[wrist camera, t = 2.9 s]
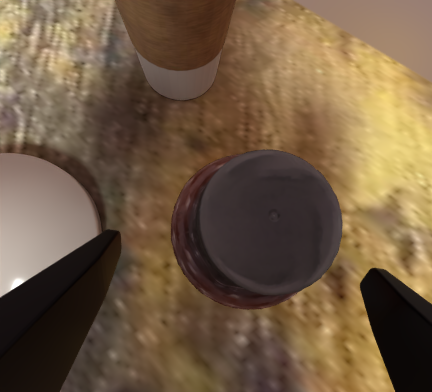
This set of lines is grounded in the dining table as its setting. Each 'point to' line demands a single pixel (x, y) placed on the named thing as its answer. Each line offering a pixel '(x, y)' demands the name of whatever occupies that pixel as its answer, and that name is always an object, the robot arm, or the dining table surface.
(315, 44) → the dining table surface
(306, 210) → the supplement bottle
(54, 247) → the beige flattened disc
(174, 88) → the coffee cup
